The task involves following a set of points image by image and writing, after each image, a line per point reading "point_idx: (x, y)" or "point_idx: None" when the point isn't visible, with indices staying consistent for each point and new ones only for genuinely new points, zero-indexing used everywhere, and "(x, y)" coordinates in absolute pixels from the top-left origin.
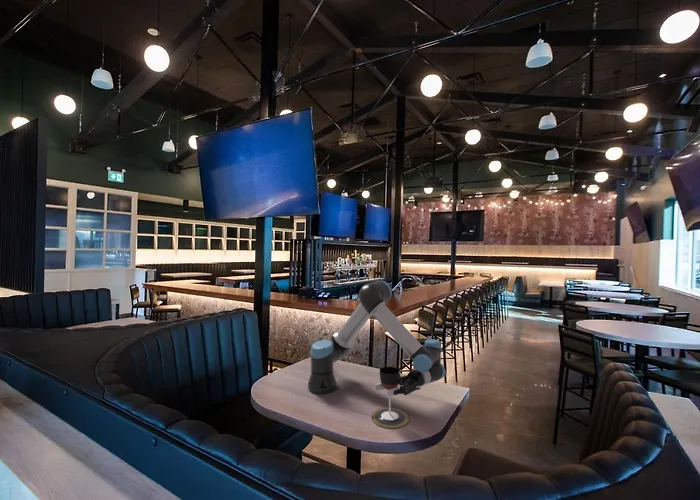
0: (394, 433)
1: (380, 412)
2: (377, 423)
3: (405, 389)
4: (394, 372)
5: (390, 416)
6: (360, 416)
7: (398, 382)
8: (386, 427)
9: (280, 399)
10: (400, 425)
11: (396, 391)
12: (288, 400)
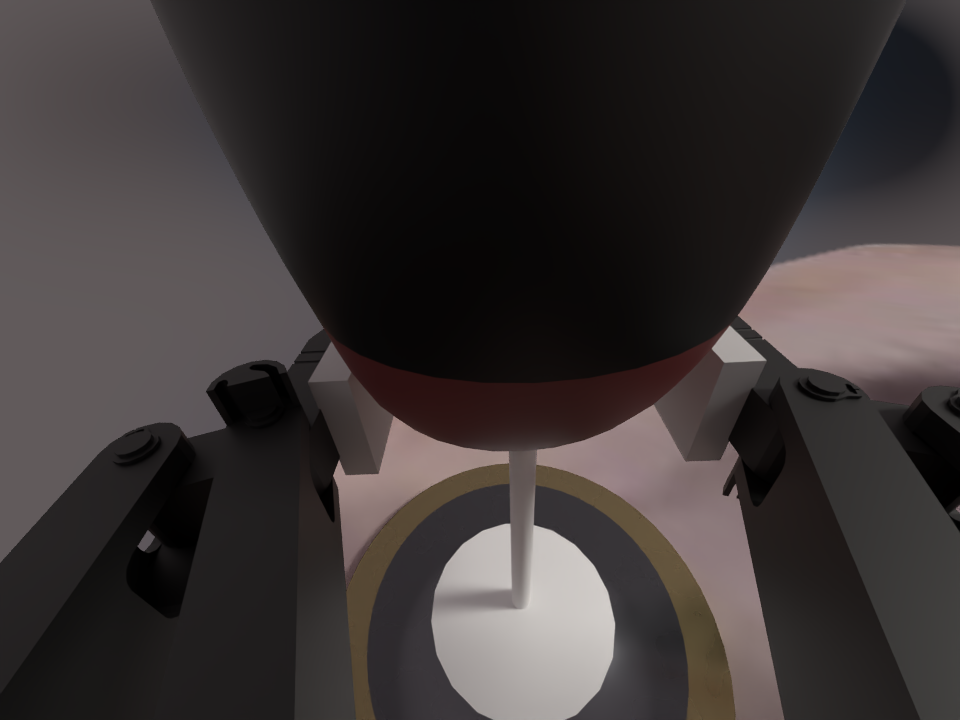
0: (344, 500)
1: (640, 589)
2: (497, 469)
3: (120, 438)
4: (747, 73)
5: (488, 580)
6: (648, 447)
7: (317, 317)
8: (425, 494)
9: (915, 277)
10: (352, 594)
11: (307, 342)
12: (906, 289)
